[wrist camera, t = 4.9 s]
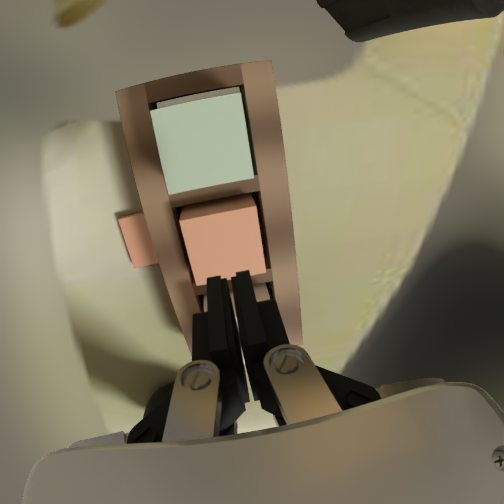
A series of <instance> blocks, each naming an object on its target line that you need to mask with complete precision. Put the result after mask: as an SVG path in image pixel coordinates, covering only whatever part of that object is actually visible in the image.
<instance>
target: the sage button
mask: <svg viewBox="0 0 504 504" xmlns="http://www.w3.org/2000/svg"><path fill="white" fill-rule="evenodd" d="M150 113H151V118H152V123H153V128H154V133H155V137H156V142H157V147H158V151H159V156H160V160H161V165H162V169H163V173H164V178H165V182H166V186H167V190H168V194H169V195H171V194H175V193H180V192H185V191H190V190H194V189H199V188H204V187H209V186H214V185H219V184H225V183H230V182H235V181H241V180H246V179H252V178H254V174H253V167H252V161H251V154H250V148H249V141H248V135H247V129H246V122H245V116H244V110H243V104H242V98H241V93H234V94H228V95H222V96H216V97H211V98H205V99H200V100H195V101H190V102H186V103H181V104H176V105H172V106H168V107H164V108H159V109H155V110H151V111H150Z"/></svg>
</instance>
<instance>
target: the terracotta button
mask: <svg viewBox="0 0 504 504" xmlns="http://www.w3.org/2000/svg"><path fill="white" fill-rule="evenodd" d="M179 222H180V226H181V230H182V234H183V237H184V241H185V245H186V249H187V253H188V256H189V260H190V264H191V267H192V271H193V275H194V278H195V282H196V285H197V286H199V285H205V284H207V278H208V277H214V276H219V275H220V276H221V279H223V278H227V280H231V277H234V276H236V272H240V271H245V270H249V271H250V276H252V275H257V274H262V273H266V267H265V260H264V254H263V247H262V240H261V234H260V227H259V221H258V214H257V208H256V204H255V202H254V200H253V197H252V195H251V193H244V194H239V195H233V196H228V197H223V198H218V199H212V200H207V201H202V202H197V203H192V204H188V205H183V207H182V211H181V216H180V220H179Z"/></svg>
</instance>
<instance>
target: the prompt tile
mask: <svg viewBox="0 0 504 504" xmlns="http://www.w3.org/2000/svg"><path fill="white" fill-rule="evenodd" d="M118 221H119V224H120V227H121V230H122V233H123V236H124V239H125V242H126V245H127V248H128V251H129V254H130V257H131V260H132V263H133V266H134V268H137V267H142V266H147V265H152V264H157V263H159V262H158V259H157V256H156V252H155V249H154V246H153V243H152V239H151V236H150V233H149V229H148V226H147V222H146V219H145V215H144V212H140V213H135V214H131V215H127V216H123V217H120V218H119V219H118Z"/></svg>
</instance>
